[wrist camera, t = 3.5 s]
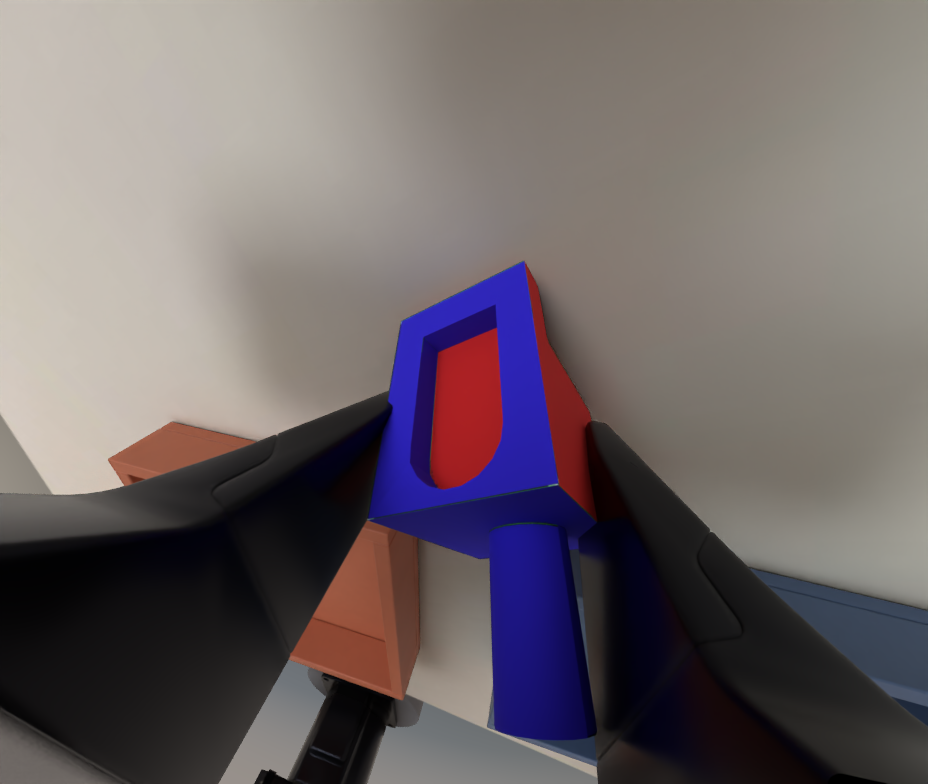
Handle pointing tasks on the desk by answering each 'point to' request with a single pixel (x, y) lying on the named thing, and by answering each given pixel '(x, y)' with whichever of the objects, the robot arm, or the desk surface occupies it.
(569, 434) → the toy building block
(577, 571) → the slate tray
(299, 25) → the desk surface
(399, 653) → the terracotta tray
